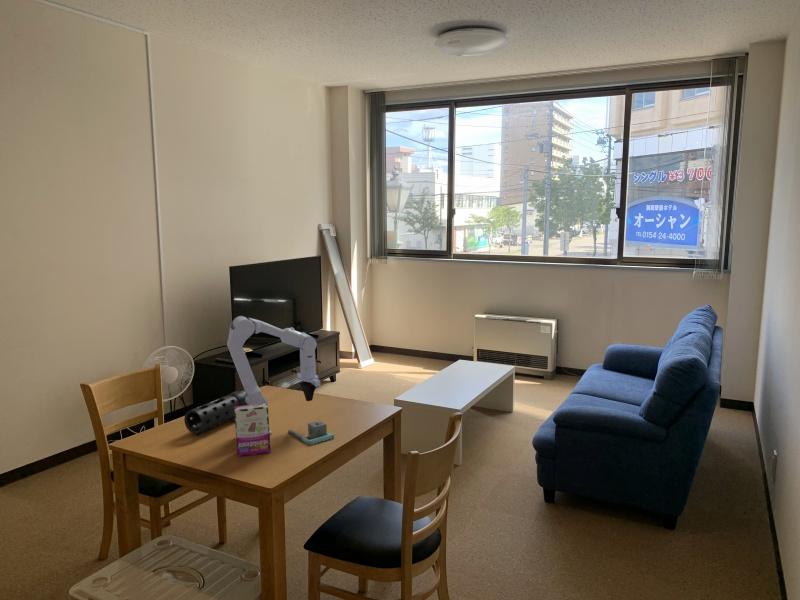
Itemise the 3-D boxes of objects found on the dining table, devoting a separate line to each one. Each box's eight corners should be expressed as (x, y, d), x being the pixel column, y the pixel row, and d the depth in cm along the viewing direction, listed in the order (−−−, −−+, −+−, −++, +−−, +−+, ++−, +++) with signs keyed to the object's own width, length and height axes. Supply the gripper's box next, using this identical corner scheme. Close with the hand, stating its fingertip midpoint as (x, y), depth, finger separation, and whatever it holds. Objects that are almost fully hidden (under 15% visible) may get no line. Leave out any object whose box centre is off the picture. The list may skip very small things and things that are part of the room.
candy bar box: (269, 447, 208) (267, 402, 206) (270, 453, 203) (268, 406, 201) (236, 451, 205) (234, 405, 203) (236, 457, 200) (234, 410, 198)
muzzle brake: (184, 434, 222) (182, 408, 221) (235, 412, 247) (234, 388, 246) (204, 438, 218) (202, 411, 216) (253, 415, 243) (252, 390, 241)
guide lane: (310, 445, 210) (309, 441, 210) (288, 432, 222) (288, 428, 222) (334, 438, 216) (334, 434, 216) (311, 426, 228) (311, 422, 228)
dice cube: (314, 440, 214) (313, 427, 214) (308, 436, 218) (307, 423, 218) (326, 437, 217) (326, 424, 216) (320, 433, 221) (320, 420, 220)
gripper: (326, 367, 225) (328, 402, 227) (307, 361, 236) (308, 394, 238) (310, 371, 221) (311, 406, 222) (291, 363, 232) (293, 397, 234)
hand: (309, 400), depth 230 cm, fingers closed
